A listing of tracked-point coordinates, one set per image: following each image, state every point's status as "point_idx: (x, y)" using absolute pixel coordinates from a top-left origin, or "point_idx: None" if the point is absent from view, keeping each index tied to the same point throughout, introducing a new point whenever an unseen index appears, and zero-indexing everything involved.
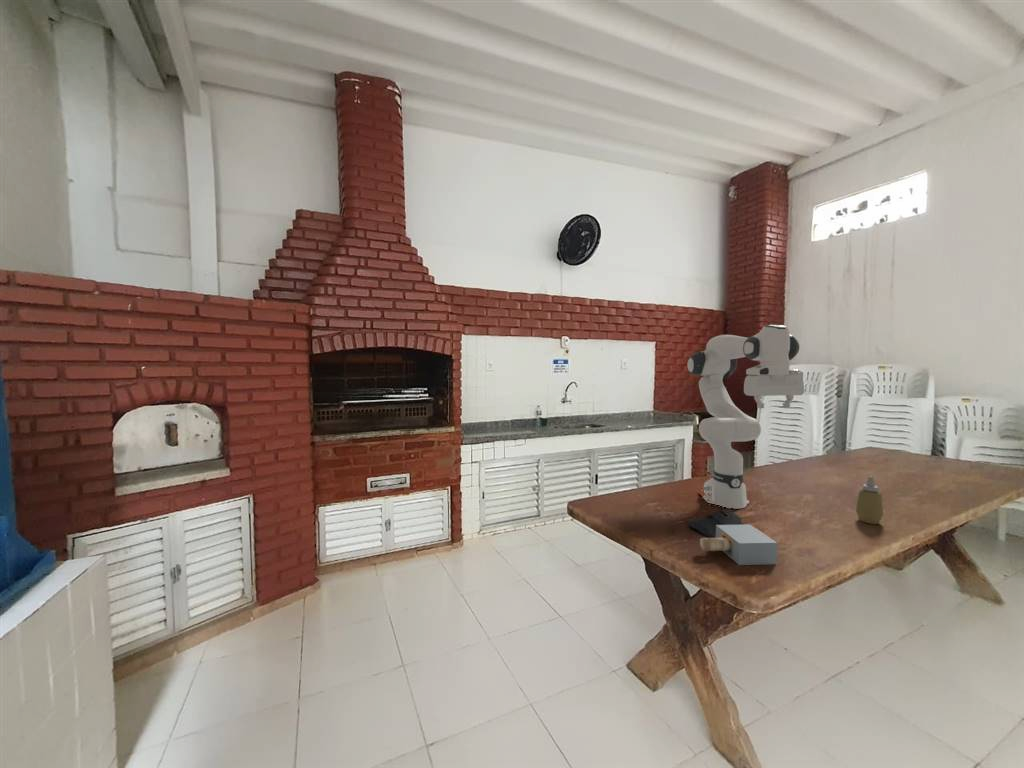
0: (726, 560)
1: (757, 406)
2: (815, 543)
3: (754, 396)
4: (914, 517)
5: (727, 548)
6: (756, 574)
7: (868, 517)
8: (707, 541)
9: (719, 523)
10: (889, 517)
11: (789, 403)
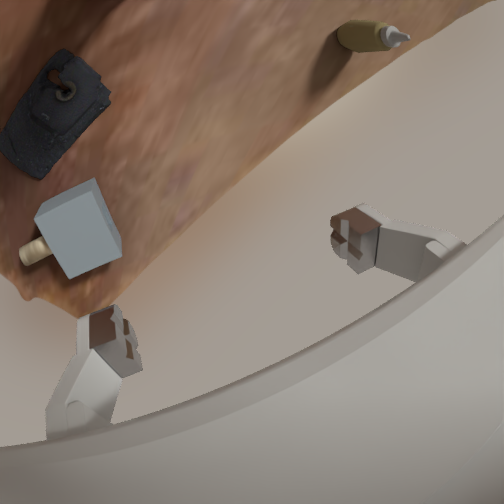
0: None
1: (80, 329)
2: (210, 137)
3: (51, 436)
4: (404, 30)
5: None
6: (92, 275)
7: (346, 46)
8: (28, 263)
9: (49, 130)
10: None
11: (380, 261)
